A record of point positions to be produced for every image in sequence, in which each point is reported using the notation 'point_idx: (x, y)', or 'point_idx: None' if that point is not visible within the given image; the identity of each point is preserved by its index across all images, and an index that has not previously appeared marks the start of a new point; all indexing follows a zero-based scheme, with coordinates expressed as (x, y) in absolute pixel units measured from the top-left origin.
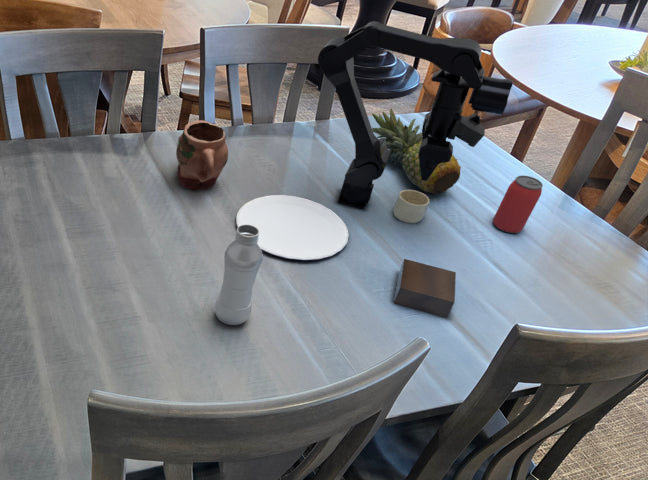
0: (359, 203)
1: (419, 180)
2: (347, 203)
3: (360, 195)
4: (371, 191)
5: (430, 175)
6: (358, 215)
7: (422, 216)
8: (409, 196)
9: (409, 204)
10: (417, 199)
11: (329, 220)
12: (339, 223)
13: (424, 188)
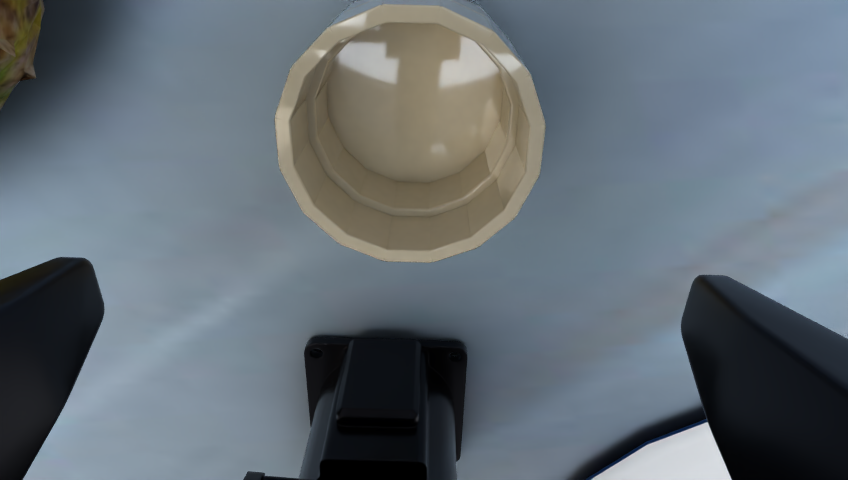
0: (439, 378)
1: (4, 94)
2: (462, 424)
3: (447, 426)
4: (416, 403)
5: (831, 331)
6: (538, 357)
7: (474, 6)
8: (307, 151)
9: (537, 176)
10: (310, 83)
11: (664, 474)
12: (702, 445)
13: (40, 19)
